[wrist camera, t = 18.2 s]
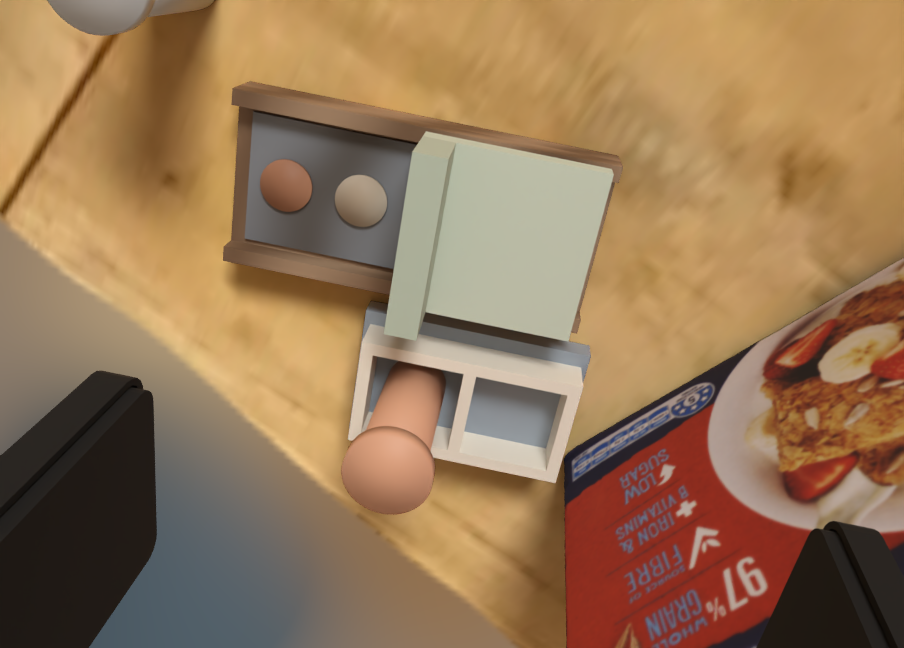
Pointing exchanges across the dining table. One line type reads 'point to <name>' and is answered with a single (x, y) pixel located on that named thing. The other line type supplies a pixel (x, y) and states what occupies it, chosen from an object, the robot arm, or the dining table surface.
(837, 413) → the cereal box
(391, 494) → the terracotta peg
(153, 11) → the grey peg
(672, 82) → the dining table surface
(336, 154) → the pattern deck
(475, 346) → the socket board
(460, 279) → the lid
